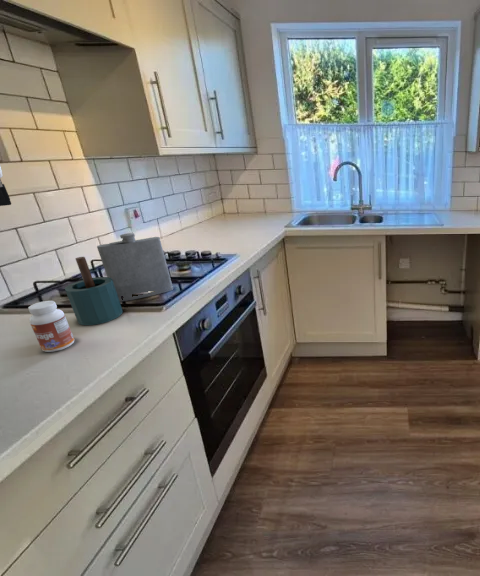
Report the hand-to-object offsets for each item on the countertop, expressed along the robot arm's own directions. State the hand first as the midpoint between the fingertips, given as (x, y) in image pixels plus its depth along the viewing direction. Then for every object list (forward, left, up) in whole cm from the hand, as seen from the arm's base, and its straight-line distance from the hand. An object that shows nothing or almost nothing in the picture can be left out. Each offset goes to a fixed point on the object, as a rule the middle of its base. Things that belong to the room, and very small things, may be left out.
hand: (2, 203), depth 87 cm
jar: (+10, -6, -32) cm, 34 cm away
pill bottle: (0, -18, -32) cm, 37 cm away
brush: (+10, -6, -32) cm, 34 cm away
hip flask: (+23, +2, -32) cm, 40 cm away
